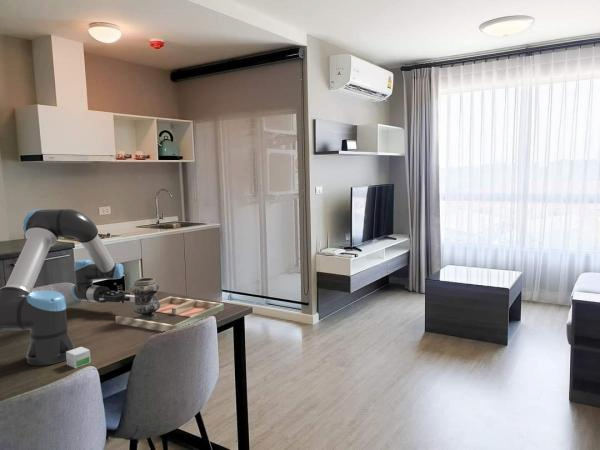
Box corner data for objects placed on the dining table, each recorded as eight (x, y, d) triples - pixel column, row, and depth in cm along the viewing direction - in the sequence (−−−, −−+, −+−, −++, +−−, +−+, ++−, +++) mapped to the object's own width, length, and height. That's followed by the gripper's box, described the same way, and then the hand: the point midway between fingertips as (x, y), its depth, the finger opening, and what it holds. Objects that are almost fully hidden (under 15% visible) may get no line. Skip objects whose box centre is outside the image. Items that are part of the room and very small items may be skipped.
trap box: (115, 323, 201) (115, 316, 201) (170, 302, 232) (169, 296, 231) (174, 333, 187) (174, 326, 187) (223, 309, 218) (223, 303, 217)
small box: (75, 369, 155) (74, 354, 154) (66, 365, 158) (65, 351, 158) (91, 363, 160) (90, 349, 159) (82, 359, 163) (81, 346, 162)
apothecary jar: (155, 312, 215) (153, 274, 213) (165, 318, 206) (163, 279, 204) (129, 318, 208) (126, 279, 206) (138, 324, 198) (135, 283, 196)
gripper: (110, 298, 226) (147, 303, 216) (88, 305, 214) (126, 311, 204) (109, 283, 225) (146, 287, 215) (87, 289, 213) (124, 294, 203)
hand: (136, 299), depth 209 cm, fingers closed
